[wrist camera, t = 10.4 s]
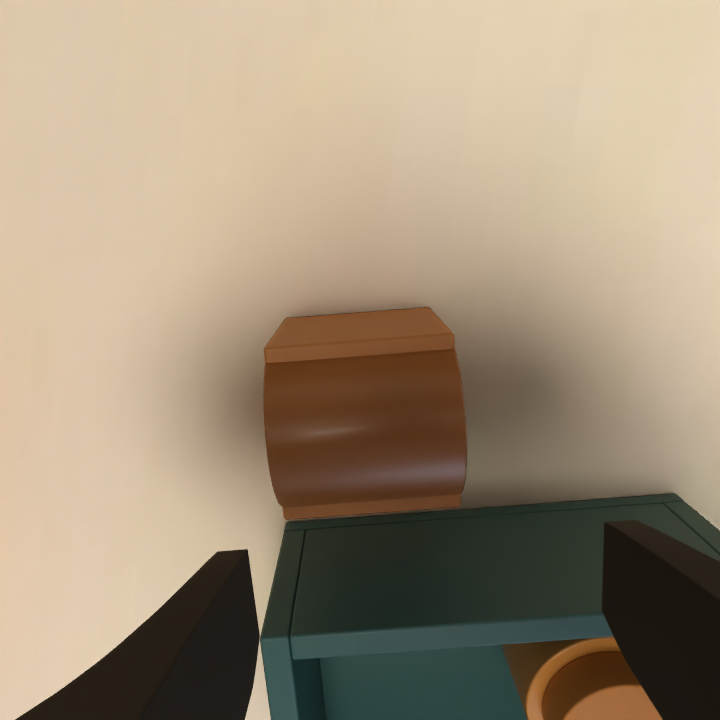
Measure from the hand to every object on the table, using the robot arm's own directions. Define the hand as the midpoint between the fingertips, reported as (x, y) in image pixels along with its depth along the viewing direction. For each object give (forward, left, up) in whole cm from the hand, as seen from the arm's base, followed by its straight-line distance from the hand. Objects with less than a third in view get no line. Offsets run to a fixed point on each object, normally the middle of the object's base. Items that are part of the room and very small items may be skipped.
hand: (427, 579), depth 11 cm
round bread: (-6, +9, -9) cm, 14 cm away
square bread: (+1, -2, -9) cm, 9 cm away
